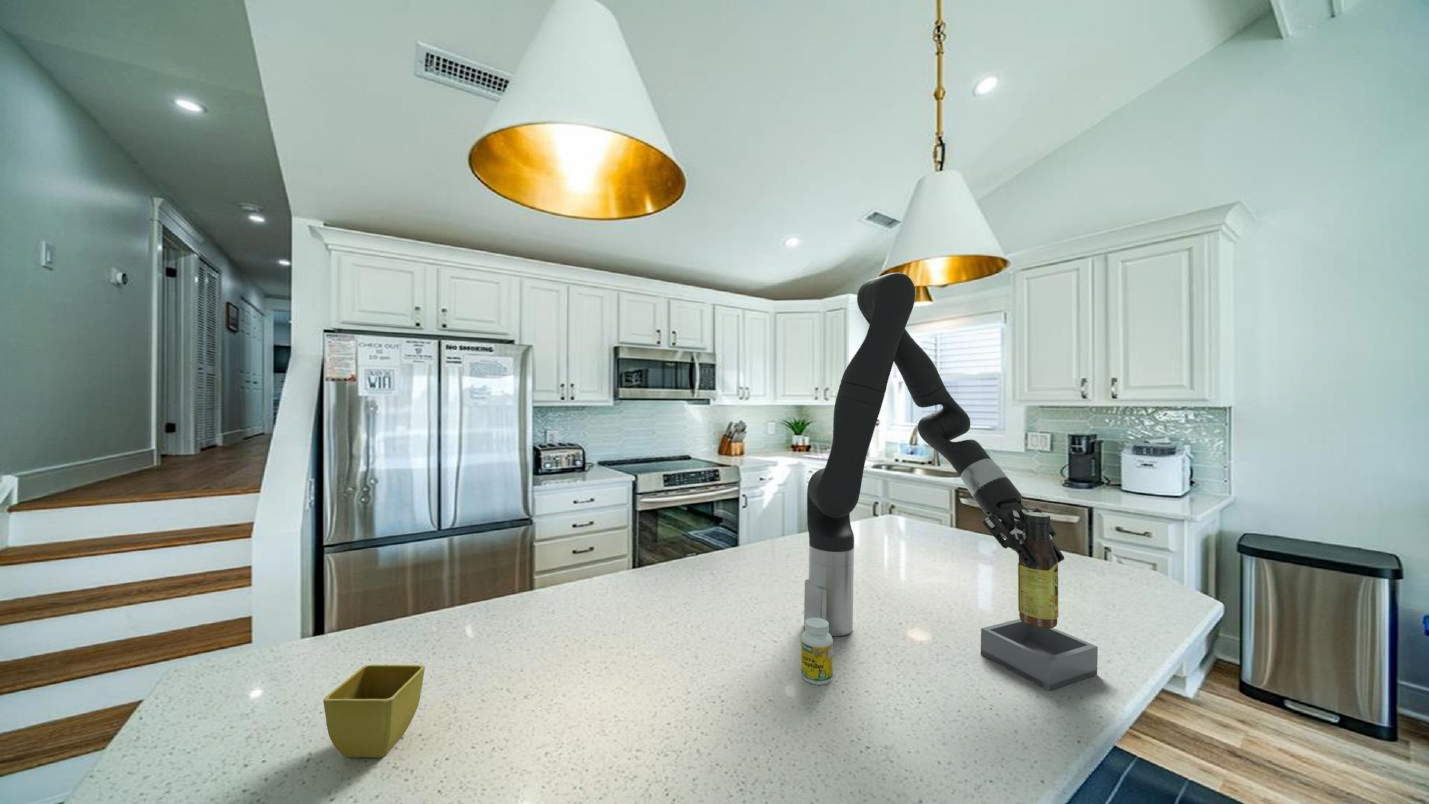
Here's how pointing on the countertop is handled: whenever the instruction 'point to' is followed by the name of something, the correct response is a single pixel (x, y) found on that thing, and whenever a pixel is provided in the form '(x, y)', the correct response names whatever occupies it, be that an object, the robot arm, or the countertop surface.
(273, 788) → the countertop surface
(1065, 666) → the gray tray
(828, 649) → the supplement bottle
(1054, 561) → the sauce bottle
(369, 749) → the flower pot
